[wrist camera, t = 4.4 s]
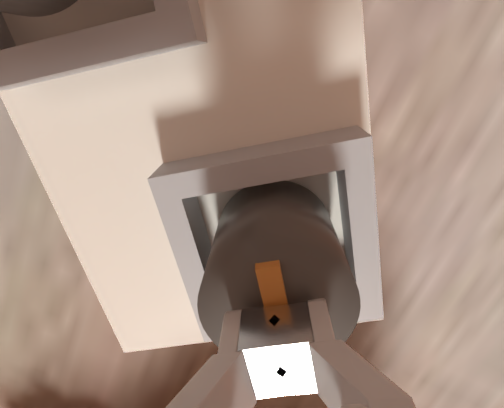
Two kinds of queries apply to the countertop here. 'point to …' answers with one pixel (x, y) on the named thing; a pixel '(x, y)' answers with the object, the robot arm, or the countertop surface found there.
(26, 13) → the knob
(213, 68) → the mount
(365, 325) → the countertop surface
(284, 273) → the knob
